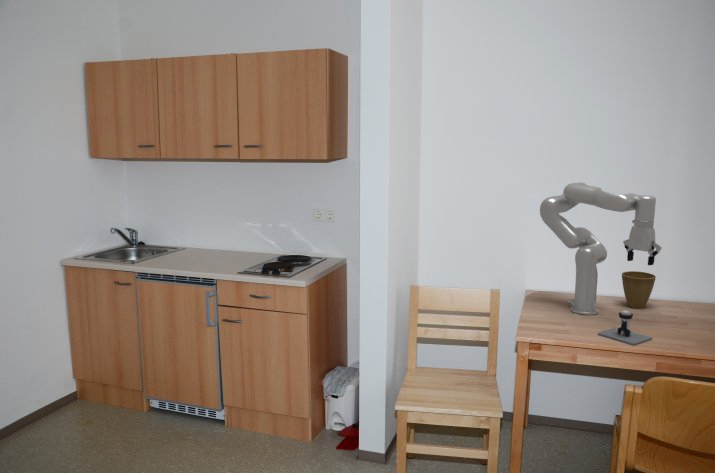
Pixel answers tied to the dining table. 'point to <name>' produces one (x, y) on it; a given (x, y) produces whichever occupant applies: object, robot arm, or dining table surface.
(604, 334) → the mat
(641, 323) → the dining table surface
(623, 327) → the black mechanical part
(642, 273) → the plant pot
